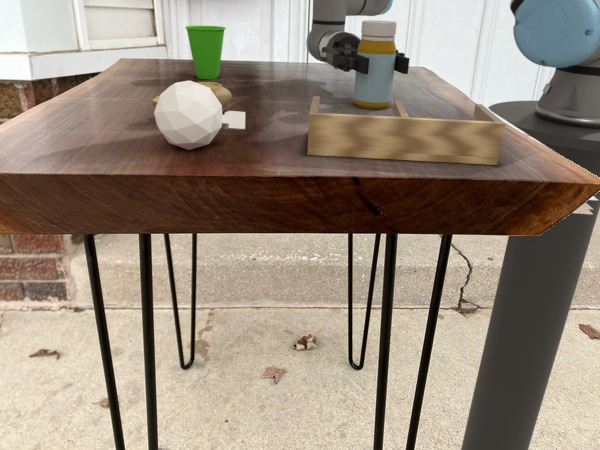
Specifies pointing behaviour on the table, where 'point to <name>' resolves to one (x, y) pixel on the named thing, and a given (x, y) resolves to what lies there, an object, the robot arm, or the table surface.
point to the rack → (406, 136)
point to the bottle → (376, 65)
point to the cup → (206, 49)
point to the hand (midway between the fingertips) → (386, 66)
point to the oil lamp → (217, 89)
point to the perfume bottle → (193, 115)
